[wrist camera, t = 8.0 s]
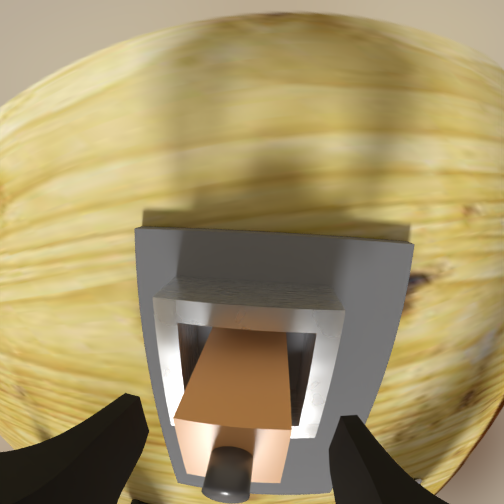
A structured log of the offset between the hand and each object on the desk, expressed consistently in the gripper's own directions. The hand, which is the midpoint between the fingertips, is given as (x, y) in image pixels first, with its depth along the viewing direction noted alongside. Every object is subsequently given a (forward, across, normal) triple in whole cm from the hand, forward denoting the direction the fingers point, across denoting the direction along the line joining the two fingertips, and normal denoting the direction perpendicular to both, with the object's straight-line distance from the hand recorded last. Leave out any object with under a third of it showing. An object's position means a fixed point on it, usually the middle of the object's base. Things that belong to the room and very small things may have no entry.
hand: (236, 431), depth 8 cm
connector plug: (+6, 0, 0) cm, 6 cm away
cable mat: (+7, -1, +5) cm, 9 cm away
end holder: (+7, 0, 0) cm, 7 cm away
